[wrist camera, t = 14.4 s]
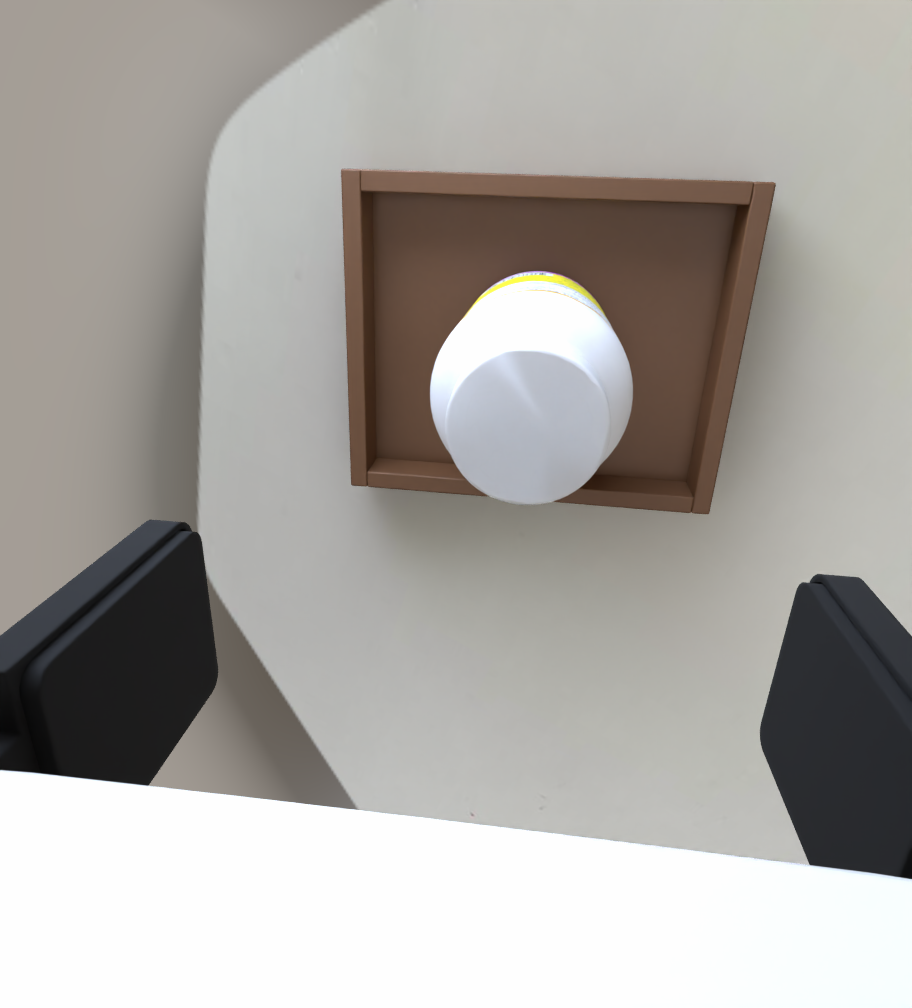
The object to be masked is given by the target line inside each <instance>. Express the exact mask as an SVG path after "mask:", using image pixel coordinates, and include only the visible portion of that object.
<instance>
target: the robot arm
mask: <svg viewBox="0 0 912 1008" xmlns="http://www.w3.org/2000/svg"><path fill="white" fill-rule="evenodd" d="M217 677H218V664H217V657H216V649H215V641H214V633H213V625H212V618H211V610H210V603H209V595H208V586H207V579H206V571H205V563H204V555H203V547H202V541H201V537H200V535H199V534H198V533H197V532H192V530H191V528H190V526H189V525H188V524H187V523H185V522H172V521H160V520H149V521H146V522H145V523H144V524H143V525H141V526H140V527H139V528H137V529H136V530H135V531H133V532H132V533H131V534H130V535H128V536H127V537H126V538H125V539H123V540H122V541H121V542H119V543H118V544H117V545H116V546H114V547H113V548H112V549H111V550H109V551H108V552H107V553H105V554H104V555H103V556H102V557H100V558H99V559H98V560H97V561H95V562H94V563H93V564H91V565H90V566H89V567H87V568H86V569H85V570H84V571H82V572H81V573H80V574H79V575H77V576H76V577H75V578H73V579H72V580H71V581H70V582H68V583H67V584H66V585H65V586H63V587H62V588H61V589H59V590H58V591H57V592H56V593H54V594H53V595H52V596H50V597H49V598H48V599H47V600H45V601H44V602H43V603H42V604H40V605H39V606H38V607H36V608H35V609H34V610H33V611H31V612H30V613H29V614H27V615H26V616H25V617H24V618H22V619H21V620H20V621H19V622H17V623H16V624H15V625H13V626H12V627H11V628H10V629H8V630H7V631H6V632H4V633H3V634H2V635H1V636H0V1008H912V636H911V635H910V634H909V633H908V632H907V630H906V629H905V628H904V627H903V626H902V625H901V624H900V622H899V621H898V620H897V619H896V618H895V617H894V616H893V614H892V613H891V612H890V611H889V610H888V609H887V608H886V606H885V605H884V604H883V603H882V602H881V601H880V599H879V598H878V597H877V596H876V595H875V594H874V593H873V591H872V590H871V589H870V588H869V587H868V586H867V585H866V583H865V582H864V581H863V580H862V579H860V578H859V577H847V576H834V575H822V574H817V575H815V576H813V578H812V579H811V581H810V583H804V582H803V583H801V584H800V585H799V586H798V588H797V591H796V594H795V598H794V601H793V605H792V609H791V613H790V616H789V620H788V624H787V628H786V631H785V635H784V639H783V643H782V646H781V650H780V654H779V658H778V662H777V665H776V669H775V673H774V677H773V680H772V684H771V688H770V692H769V695H768V699H767V703H766V707H765V710H764V714H763V718H762V722H761V727H760V741H761V746H762V749H763V752H764V755H765V757H766V759H767V762H768V764H769V767H770V769H771V772H772V774H773V777H774V779H775V781H776V784H777V786H778V789H779V791H780V794H781V796H782V798H783V801H784V803H785V806H786V808H787V811H788V813H789V815H790V818H791V820H792V823H793V825H794V828H795V830H796V832H797V835H798V837H799V840H800V842H801V845H802V847H803V850H804V852H805V854H806V857H807V859H808V862H809V864H810V865H804V864H796V863H788V862H780V861H772V860H764V859H756V858H748V857H740V856H732V855H724V854H716V853H708V852H700V851H692V850H684V849H676V848H668V847H660V846H652V845H644V844H636V843H627V842H619V841H611V840H603V839H594V838H586V837H578V836H569V835H561V834H553V833H545V832H536V831H528V830H520V829H512V828H503V827H495V826H487V825H478V824H470V823H462V822H454V821H445V820H437V819H429V818H420V817H412V816H403V815H395V814H386V813H378V812H369V811H360V810H351V809H342V808H335V807H326V806H318V805H309V804H300V803H292V802H282V801H275V800H266V799H258V798H250V797H242V796H233V795H225V794H215V793H207V792H198V791H189V790H180V789H171V788H162V787H154V786H148V785H149V784H150V783H151V781H152V780H153V778H154V777H155V775H156V774H157V772H158V771H159V769H160V768H161V766H162V765H163V763H164V762H165V761H166V759H167V758H168V756H169V755H170V753H171V752H172V750H173V749H174V747H175V746H176V744H177V743H178V742H179V740H180V739H181V737H182V736H183V734H184V733H185V731H186V730H187V729H188V727H189V726H190V724H191V722H192V721H193V720H194V718H195V717H196V715H197V714H198V712H199V711H200V710H201V708H202V707H203V705H204V704H205V702H206V701H207V699H208V698H209V696H210V695H211V694H212V692H213V690H214V688H215V685H216V682H217Z"/></svg>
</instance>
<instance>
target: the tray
mask: <svg viewBox="0 0 912 1008" xmlns="http://www.w3.org/2000/svg"><path fill="white" fill-rule="evenodd" d="M341 180H342V211H343V242H344V274H345V305H346V336H347V368H348V399H349V430H350V461H351V485H353V486H368V487H378V488H390V489H402V490H415V491H427V492H439V493H451V494H464V495H476V496H488V495H486V494H484V493H483V492H481V491H480V490H478V489H477V488H475V487H474V486H473V485H472V484H471V483H470V482H469V481H468V480H467V479H466V478H465V477H464V476H463V475H462V474H461V472H460V471H459V469H458V468H457V466H456V464H455V463H454V461H453V459H452V457H451V454H450V453H449V452H448V450H447V449H446V447H445V446H444V444H443V442H442V440H441V438H440V436H439V434H438V432H437V429H436V426H435V423H434V420H433V416H432V411H431V403H430V385H431V377H432V372H433V369H434V365H435V362H436V359H437V356H438V354H439V352H440V350H441V348H442V346H443V344H444V343H445V341H446V339H447V338H448V337H449V335H450V334H451V332H452V331H453V330H454V329H455V327H456V326H457V325H458V323H459V322H460V321H461V320H462V319H463V317H464V316H465V315H466V313H467V312H468V311H469V310H470V308H471V307H472V306H473V304H474V303H475V302H476V301H477V299H478V298H479V297H480V296H481V295H482V294H483V293H484V292H485V291H486V290H487V289H489V288H490V287H491V286H493V285H494V284H496V283H497V282H499V281H501V280H503V279H505V278H507V277H509V276H512V275H515V274H518V273H523V272H529V271H546V272H552V273H556V274H560V275H563V276H565V277H567V278H569V279H572V280H573V281H575V282H577V283H578V284H580V285H581V286H582V287H583V288H585V289H586V290H587V291H588V292H589V293H590V294H591V295H592V296H593V297H594V298H595V299H596V301H597V302H598V304H599V305H600V307H601V308H602V310H603V312H604V314H605V316H606V317H607V319H608V321H609V323H610V325H611V327H612V328H613V330H614V332H615V334H616V335H617V337H618V339H619V341H620V343H621V345H622V347H623V349H624V351H625V354H626V356H627V359H628V362H629V365H630V369H631V375H632V382H633V401H632V408H631V413H630V417H629V420H628V424H627V426H626V429H625V431H624V434H623V435H622V437H621V439H620V441H619V443H618V444H617V446H616V447H615V449H614V450H613V451H612V453H611V454H610V455H609V456H608V458H607V459H606V460H605V461H604V462H603V463H602V464H601V465H600V466H599V468H598V469H597V471H596V472H595V473H594V474H593V476H592V477H591V478H590V479H589V480H588V481H587V482H586V483H585V484H584V485H583V486H581V487H580V488H579V489H577V490H576V491H574V492H573V493H571V494H569V495H568V496H566V497H563V498H561V499H559V500H556V501H553V502H561V503H574V504H586V505H598V506H610V507H623V508H635V509H647V510H659V511H671V512H684V513H690V512H692V513H697V514H709V512H710V507H711V502H712V497H713V492H714V487H715V482H716V477H717V472H718V467H719V463H720V458H721V453H722V448H723V443H724V438H725V433H726V428H727V423H728V418H729V413H730V408H731V403H732V398H733V393H734V388H735V383H736V379H737V374H738V369H739V364H740V359H741V354H742V349H743V344H744V339H745V334H746V329H747V324H748V319H749V314H750V309H751V304H752V299H753V294H754V290H755V285H756V280H757V275H758V270H759V265H760V260H761V255H762V250H763V245H764V240H765V235H766V230H767V225H768V220H769V215H770V210H771V206H772V201H773V196H774V191H775V186H776V185H775V183H774V182H747V181H715V180H683V179H652V178H620V177H589V176H557V175H525V174H494V173H462V172H431V171H399V170H367V169H362V170H360V169H342V170H341ZM488 497H490V496H488Z"/></svg>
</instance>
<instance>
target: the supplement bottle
mask: <svg viewBox="0 0 912 1008" xmlns="http://www.w3.org/2000/svg"><path fill="white" fill-rule="evenodd" d="M632 401H633V382H632V375H631V369H630V365H629V362H628V359H627V356H626V354H625V351H624V349H623V347H622V345H621V343H620V341H619V339H618V337H617V335H616V334H615V332H614V330H613V328H612V327H611V325H610V323H609V321H608V319H607V317H606V316H605V314H604V312H603V310H602V308H601V307H600V305H599V304H598V302H597V301H596V299H595V298H594V297H593V296H592V295H591V294H590V293H589V292H588V291H587V290H586V289H585V288H583V287H582V286H581V285H580V284H578V283H577V282H575V281H573V280H572V279H569V278H567V277H565V276H563V275H560V274H556V273H552V272H546V271H529V272H523V273H518V274H515V275H512V276H509V277H507V278H505V279H503V280H501V281H499V282H497V283H496V284H494V285H493V286H491V287H490V288H489V289H487V290H486V291H485V292H484V293H483V294H482V295H481V296H480V297H479V298H478V299H477V301H476V302H475V303H474V304H473V306H472V307H471V308H470V310H469V311H468V312H467V313H466V315H465V316H464V317H463V319H462V320H461V321H460V322H459V323H458V325H457V326H456V327H455V329H454V330H453V331H452V332H451V334H450V335H449V337H448V338H447V339H446V341H445V343H444V344H443V346H442V348H441V350H440V352H439V354H438V356H437V359H436V362H435V365H434V369H433V372H432V377H431V385H430V403H431V411H432V416H433V420H434V423H435V426H436V429H437V432H438V434H439V436H440V438H441V440H442V442H443V444H444V446H445V447H446V449H447V450H448V452H449V453H450V454H451V457H452V459H453V461H454V463H455V464H456V466H457V468H458V469H459V471H460V472H461V474H462V475H463V476H464V477H465V478H466V479H467V480H468V481H469V482H470V483H471V484H472V485H473V486H474V487H475V488H477V489H478V490H480V491H481V492H483V493H484V494H486V495H488V496H490V497H492V498H495V499H497V500H500V501H503V502H507V503H512V504H519V505H539V504H545V503H549V502H553V501H556V500H559V499H561V498H563V497H566V496H568V495H569V494H571V493H573V492H574V491H576V490H577V489H579V488H580V487H581V486H583V485H584V484H585V483H586V482H587V481H588V480H589V479H590V478H591V477H592V476H593V474H594V473H595V472H596V471H597V469H598V468H599V466H600V465H601V464H602V463H603V462H604V461H605V460H606V459H607V458H608V456H609V455H610V454H611V453H612V451H613V450H614V449H615V447H616V446H617V444H618V443H619V441H620V439H621V437H622V435H623V434H624V431H625V429H626V426H627V424H628V420H629V417H630V413H631V408H632Z"/></svg>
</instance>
